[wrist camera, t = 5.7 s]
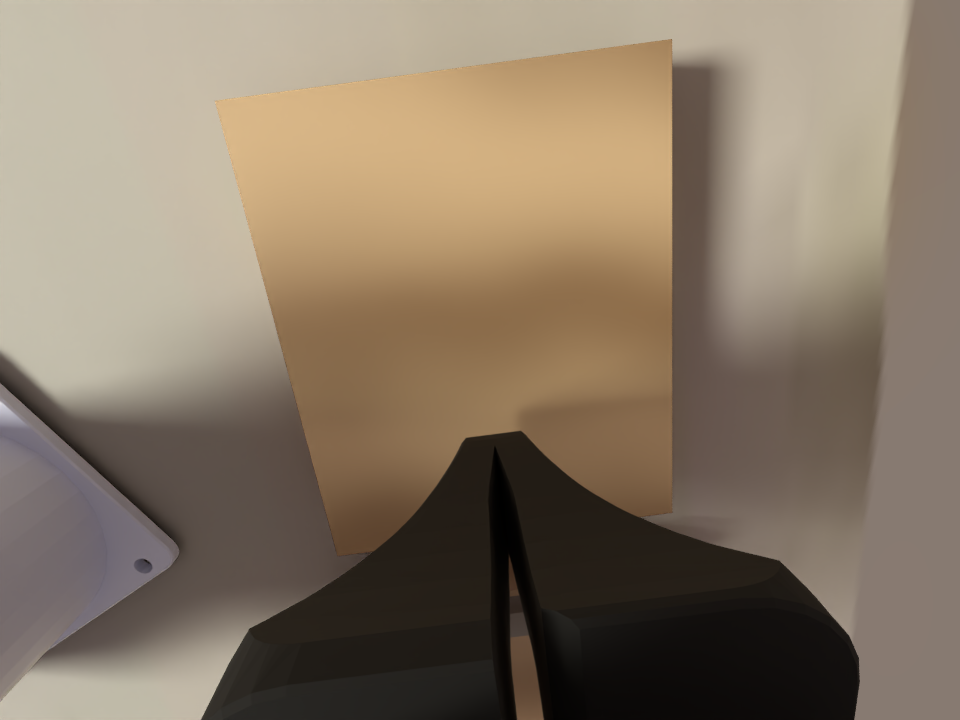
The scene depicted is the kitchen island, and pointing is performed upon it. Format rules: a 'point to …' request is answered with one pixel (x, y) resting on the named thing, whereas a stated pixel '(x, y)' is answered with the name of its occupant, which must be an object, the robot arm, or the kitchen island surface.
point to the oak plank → (470, 272)
